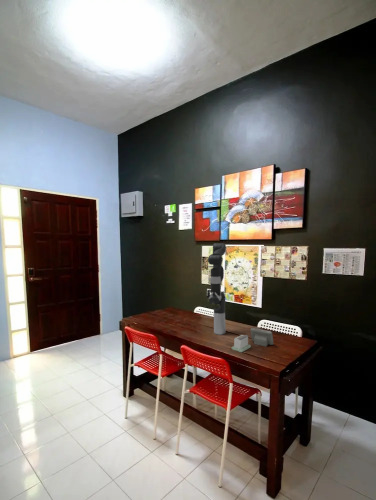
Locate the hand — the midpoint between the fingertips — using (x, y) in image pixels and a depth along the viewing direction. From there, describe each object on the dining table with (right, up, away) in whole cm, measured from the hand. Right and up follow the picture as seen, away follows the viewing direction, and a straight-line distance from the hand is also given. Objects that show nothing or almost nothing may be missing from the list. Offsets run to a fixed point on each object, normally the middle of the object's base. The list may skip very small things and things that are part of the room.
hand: (215, 304), depth 175 cm
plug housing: (+17, -28, -5) cm, 33 cm away
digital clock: (+34, -30, +3) cm, 46 cm away
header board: (+17, -30, -5) cm, 35 cm away
